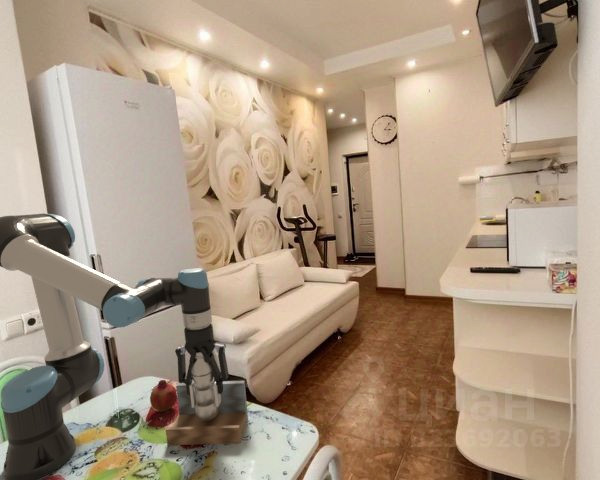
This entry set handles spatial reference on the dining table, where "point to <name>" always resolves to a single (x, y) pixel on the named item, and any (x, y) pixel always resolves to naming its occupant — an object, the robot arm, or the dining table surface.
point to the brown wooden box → (220, 428)
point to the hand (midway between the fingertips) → (206, 404)
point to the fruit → (163, 396)
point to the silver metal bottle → (203, 389)
